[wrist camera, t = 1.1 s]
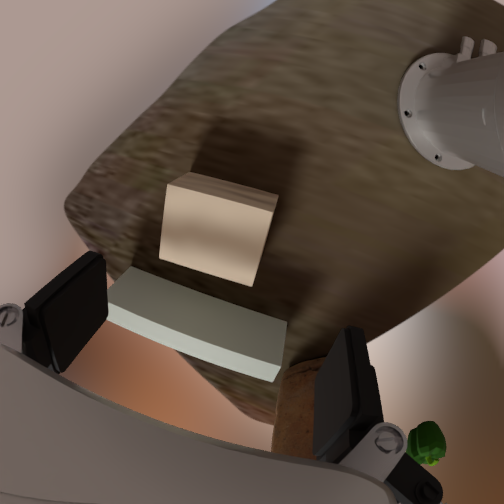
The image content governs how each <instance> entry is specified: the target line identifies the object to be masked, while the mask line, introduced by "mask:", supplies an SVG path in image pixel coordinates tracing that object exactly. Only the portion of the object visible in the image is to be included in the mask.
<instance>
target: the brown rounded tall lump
mask: <svg viewBox="0 0 504 504" xmlns="http://www.w3.org/2000/svg"><path fill="white" fill-rule="evenodd" d="M325 359H326V357H323V358H318V359H314V360H309V361H305V362H301V363H299V364H296V365H294V366H292V367H290V368H289V369H287V370H286V371H285V372H284V374H283V377H282V381H281V384H280V389H279V393H278V399H277V405H276V419H275V424H274V430H273V437H272V447H271V452H273V453H278V454H283V455H289V456H294V457H300V458H306V459H312V460H316V456H315V455H313V453H312V449H313V425H314V383H315V378H316V375H317V373H318V371H319V369H320V368H321V366H322V364H323V362H324V361H325Z"/></svg>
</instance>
